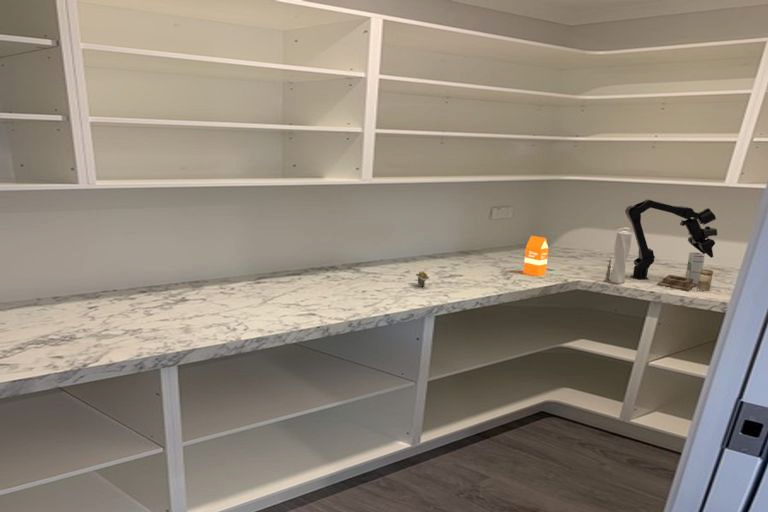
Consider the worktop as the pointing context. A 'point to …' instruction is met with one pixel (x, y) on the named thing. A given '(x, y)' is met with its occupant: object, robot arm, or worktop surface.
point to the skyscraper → (619, 257)
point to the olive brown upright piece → (422, 278)
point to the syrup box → (694, 266)
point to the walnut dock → (677, 282)
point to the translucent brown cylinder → (705, 280)
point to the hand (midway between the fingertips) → (708, 255)
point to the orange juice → (536, 256)
